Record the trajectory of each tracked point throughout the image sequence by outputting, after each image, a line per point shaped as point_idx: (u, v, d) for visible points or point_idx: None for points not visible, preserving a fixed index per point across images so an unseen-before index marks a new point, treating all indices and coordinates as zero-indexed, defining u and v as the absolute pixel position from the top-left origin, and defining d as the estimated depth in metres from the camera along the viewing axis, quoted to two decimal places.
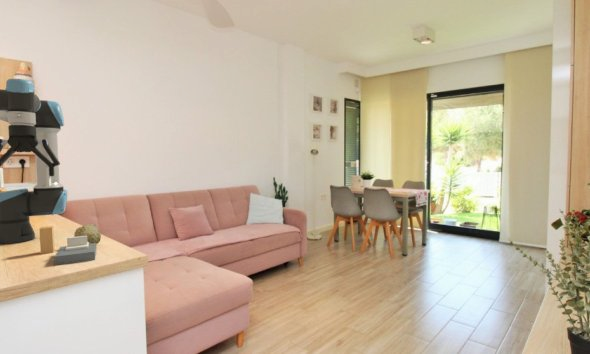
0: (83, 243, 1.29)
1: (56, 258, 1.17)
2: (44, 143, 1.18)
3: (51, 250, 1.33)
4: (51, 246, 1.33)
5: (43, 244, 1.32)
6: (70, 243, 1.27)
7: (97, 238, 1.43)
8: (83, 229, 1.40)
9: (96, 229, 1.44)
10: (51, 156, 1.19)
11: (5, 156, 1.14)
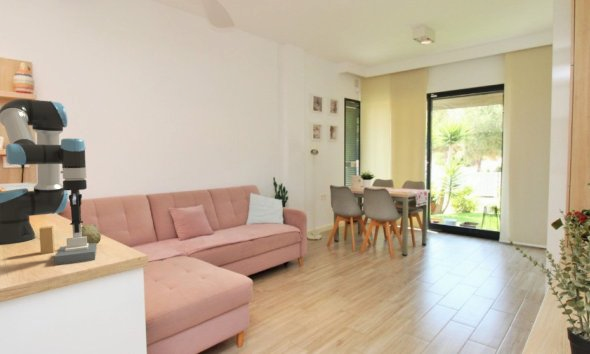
0: (83, 244, 1.28)
1: (56, 258, 1.17)
2: None
3: (51, 250, 1.33)
4: (51, 246, 1.33)
5: (43, 244, 1.32)
6: (70, 244, 1.26)
7: (97, 238, 1.43)
8: (83, 229, 1.40)
9: (96, 229, 1.44)
10: None
11: None
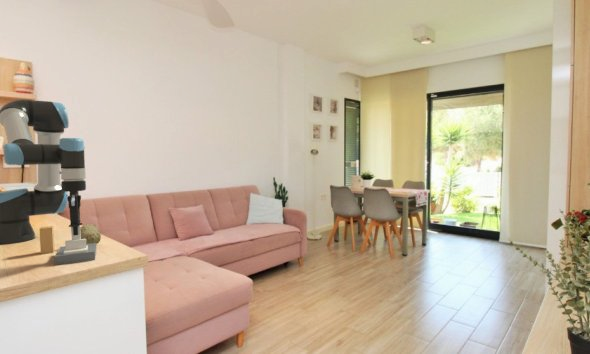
0: (82, 246, 1.24)
1: (56, 258, 1.17)
2: (69, 204, 1.19)
3: (51, 250, 1.33)
4: (51, 246, 1.33)
5: (44, 244, 1.32)
6: (68, 247, 1.22)
7: (97, 238, 1.43)
8: (83, 229, 1.40)
9: (96, 229, 1.44)
10: (70, 216, 1.21)
11: None
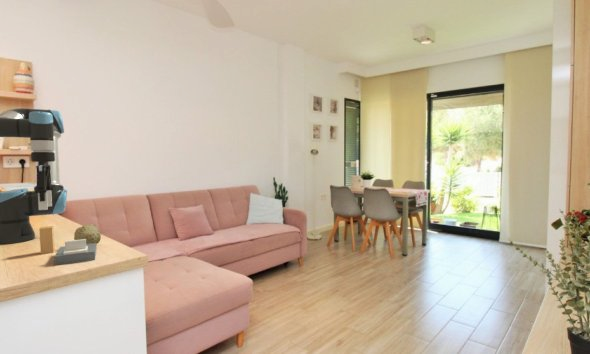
0: (82, 247, 1.24)
1: (56, 258, 1.17)
2: None
3: (51, 250, 1.33)
4: (51, 246, 1.33)
5: (43, 244, 1.32)
6: (68, 247, 1.22)
7: (97, 238, 1.43)
8: (83, 229, 1.40)
9: (96, 229, 1.44)
10: (37, 182, 1.26)
11: None
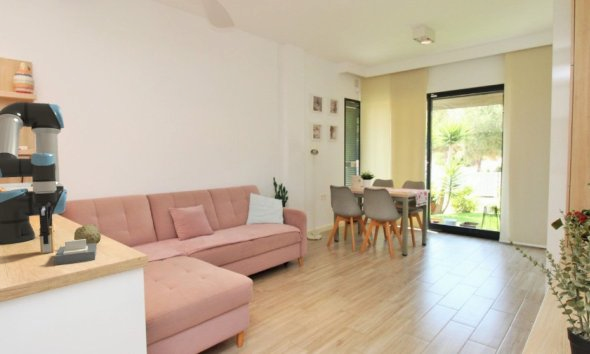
0: (82, 247, 1.24)
1: (56, 258, 1.17)
2: (39, 213, 1.28)
3: (51, 250, 1.33)
4: (51, 246, 1.33)
5: None
6: (68, 247, 1.22)
7: (97, 238, 1.43)
8: (83, 229, 1.40)
9: (96, 229, 1.44)
10: (40, 226, 1.29)
11: None
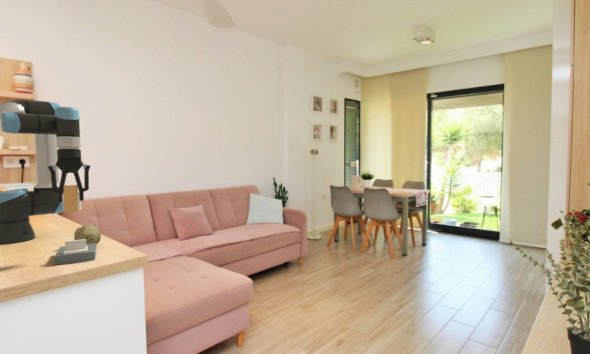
0: (82, 247, 1.24)
1: (56, 258, 1.17)
2: (87, 168, 1.29)
3: None
4: None
5: None
6: (68, 247, 1.22)
7: (97, 238, 1.43)
8: (83, 229, 1.40)
9: (96, 229, 1.44)
10: (85, 181, 1.29)
11: (62, 180, 1.26)
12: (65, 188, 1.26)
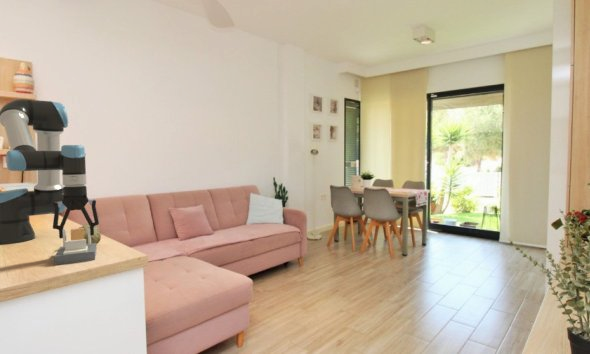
0: (82, 247, 1.24)
1: (56, 258, 1.17)
2: (93, 203, 1.30)
3: None
4: None
5: None
6: (68, 247, 1.22)
7: (97, 238, 1.43)
8: None
9: (96, 229, 1.44)
10: (95, 216, 1.31)
11: (65, 217, 1.26)
12: (72, 233, 1.27)
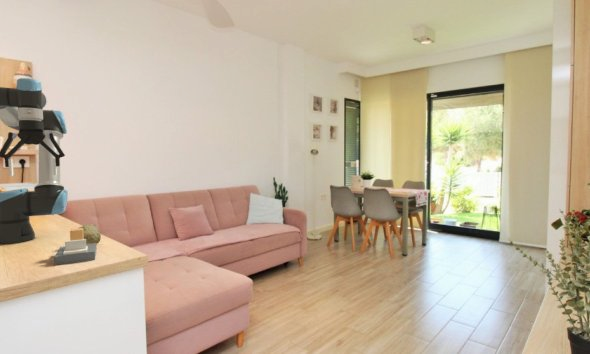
0: (82, 247, 1.24)
1: (56, 258, 1.17)
2: (51, 136, 1.31)
3: None
4: None
5: None
6: (68, 247, 1.22)
7: (97, 238, 1.43)
8: (83, 229, 1.40)
9: (96, 229, 1.44)
10: (57, 148, 1.33)
11: (16, 148, 1.26)
12: (71, 233, 1.26)
